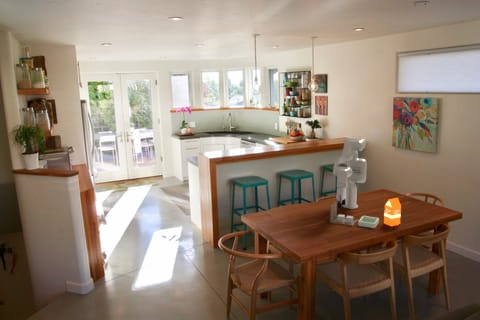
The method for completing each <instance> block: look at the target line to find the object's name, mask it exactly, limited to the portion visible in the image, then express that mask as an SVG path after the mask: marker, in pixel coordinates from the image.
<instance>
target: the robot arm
mask: <svg viewBox="0 0 480 320" xmlns="http://www.w3.org/2000/svg"><path fill="white" fill-rule="evenodd" d="M365 148H366V139H365V138H359V137H358V138H357V137H355V138H354V137H348V138H344V140H343V149H342V154H341V155H340V156H339V157H338V158H337V159H336V160H335V162H334V164H333V169H332V174H333V175H334V176H336V199H335V200H336V201H337V209H342V207H343V208H345V209H349V210H350V209H351V210H352V209H358V208H359V204H357V196H358V195H357V194H358V187H357V184H358V183H360V184H364V183H365V182H366V180H367V169H368V168H367V167H368V164H367V163H368V162H367V160H366V159H364V158H359V152H362V151H363V150H364V149H365ZM343 163H346V166H340V165H342V164H343ZM356 183H357V184H356Z"/></svg>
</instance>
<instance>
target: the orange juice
mask: <svg viewBox="0 0 480 320" xmlns="http://www.w3.org/2000/svg"><path fill="white" fill-rule="evenodd" d="M401 213H402V204H401V203H400V200H399V198H398V197H394V198H389V199H388V200H387V202H386V203H385V204H384V213H383V224H385V225H387V226H390V227H394V226H399V224H400V225H401Z"/></svg>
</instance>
